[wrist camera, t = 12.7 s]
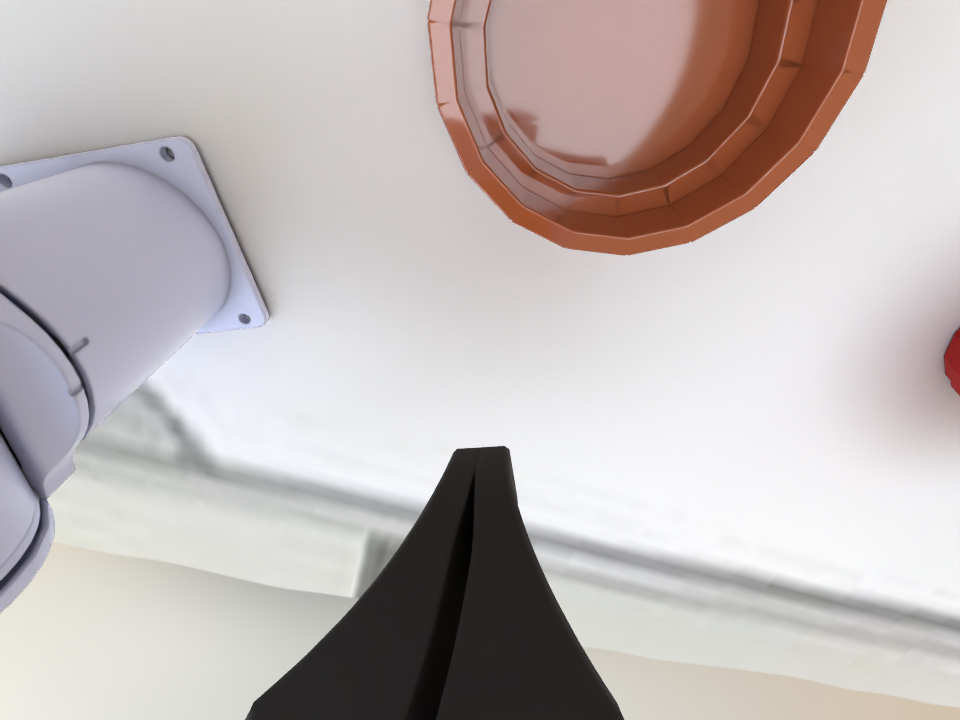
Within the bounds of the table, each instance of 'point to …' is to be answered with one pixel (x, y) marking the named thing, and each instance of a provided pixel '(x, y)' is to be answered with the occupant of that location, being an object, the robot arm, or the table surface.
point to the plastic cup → (953, 362)
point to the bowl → (641, 107)
